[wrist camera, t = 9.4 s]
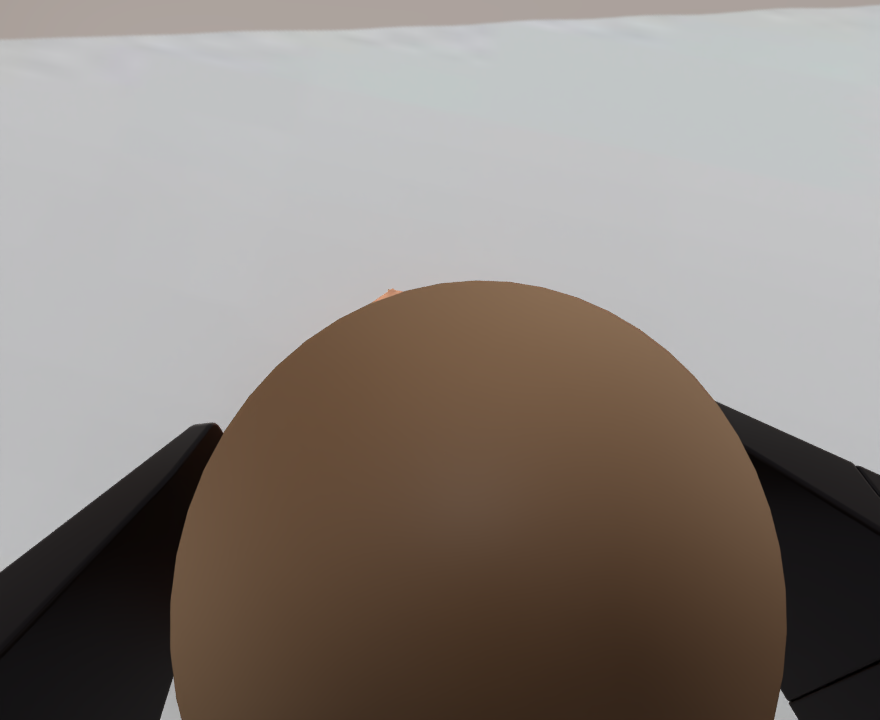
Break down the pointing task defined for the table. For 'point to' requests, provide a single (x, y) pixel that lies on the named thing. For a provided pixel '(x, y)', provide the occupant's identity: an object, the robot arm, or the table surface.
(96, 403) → the table surface
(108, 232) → the table surface
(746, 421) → the robot arm
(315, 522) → the walnut peg
